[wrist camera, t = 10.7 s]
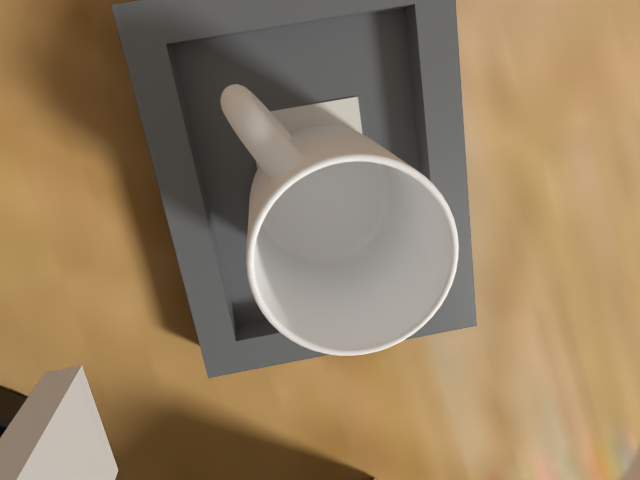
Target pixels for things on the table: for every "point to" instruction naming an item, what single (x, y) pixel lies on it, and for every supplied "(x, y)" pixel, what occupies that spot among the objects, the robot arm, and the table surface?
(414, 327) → the mug
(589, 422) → the table surface
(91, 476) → the robot arm
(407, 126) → the gray tray
